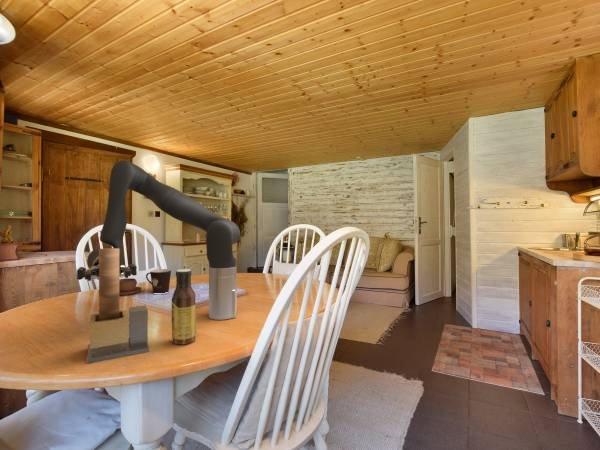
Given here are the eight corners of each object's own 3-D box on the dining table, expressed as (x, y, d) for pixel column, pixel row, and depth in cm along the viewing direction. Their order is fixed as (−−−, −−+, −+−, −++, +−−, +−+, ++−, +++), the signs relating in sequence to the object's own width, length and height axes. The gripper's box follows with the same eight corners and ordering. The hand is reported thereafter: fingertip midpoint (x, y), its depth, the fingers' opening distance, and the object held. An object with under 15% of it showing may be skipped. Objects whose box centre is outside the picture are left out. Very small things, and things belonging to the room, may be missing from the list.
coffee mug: (174, 292, 142) (174, 270, 142) (155, 296, 136) (155, 273, 136) (163, 288, 150) (163, 267, 150) (144, 291, 144) (144, 269, 144)
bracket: (88, 348, 82) (88, 309, 82) (144, 338, 89) (144, 303, 89) (87, 363, 74) (87, 320, 73) (148, 351, 80) (149, 312, 80)
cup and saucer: (118, 290, 146) (118, 277, 146) (145, 290, 147) (145, 277, 147) (105, 297, 134) (105, 282, 134) (135, 297, 135) (135, 282, 135)
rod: (122, 332, 83) (122, 248, 82) (114, 338, 78) (114, 249, 78) (104, 332, 82) (104, 248, 81) (95, 339, 78) (95, 249, 77)
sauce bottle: (177, 336, 91) (177, 267, 90) (199, 337, 90) (199, 267, 90) (167, 345, 84) (167, 271, 84) (190, 346, 84) (190, 271, 84)
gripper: (78, 256, 94) (75, 263, 80) (132, 253, 102) (138, 259, 88) (78, 281, 94) (76, 292, 80) (132, 277, 102) (138, 286, 88)
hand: (108, 275), depth 84 cm, fingers open, 8 cm apart
